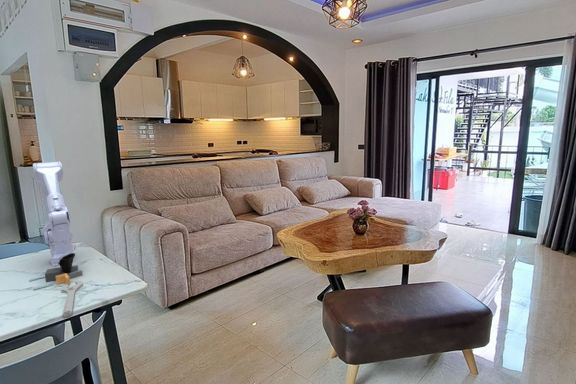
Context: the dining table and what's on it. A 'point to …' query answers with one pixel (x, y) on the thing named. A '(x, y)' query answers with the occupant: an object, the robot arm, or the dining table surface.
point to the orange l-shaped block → (63, 279)
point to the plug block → (53, 274)
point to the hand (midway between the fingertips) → (67, 272)
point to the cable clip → (76, 273)
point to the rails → (41, 286)
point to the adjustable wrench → (70, 298)
